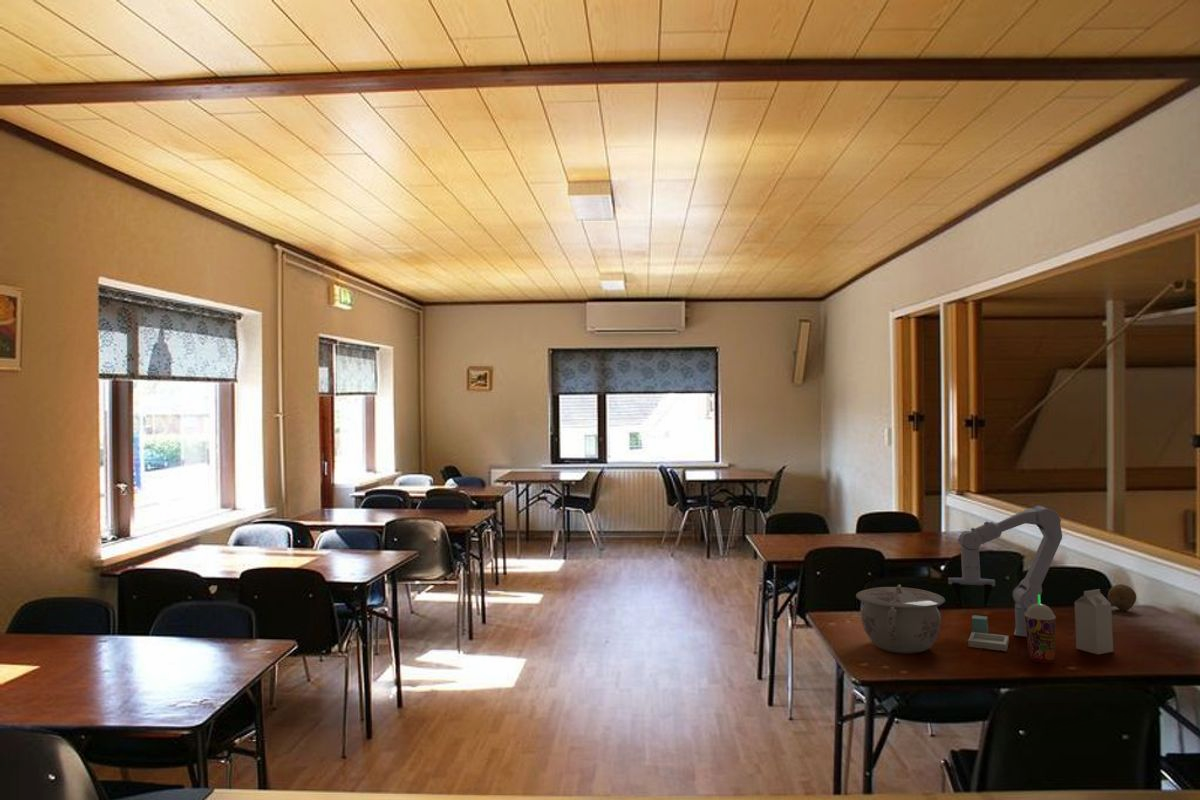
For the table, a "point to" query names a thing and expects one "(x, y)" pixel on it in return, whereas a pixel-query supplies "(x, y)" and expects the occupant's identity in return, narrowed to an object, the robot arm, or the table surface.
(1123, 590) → the brown coconut
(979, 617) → the block
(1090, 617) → the milk carton
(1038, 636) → the smoothie
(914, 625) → the chamber pot
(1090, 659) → the table surface
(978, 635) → the tray
